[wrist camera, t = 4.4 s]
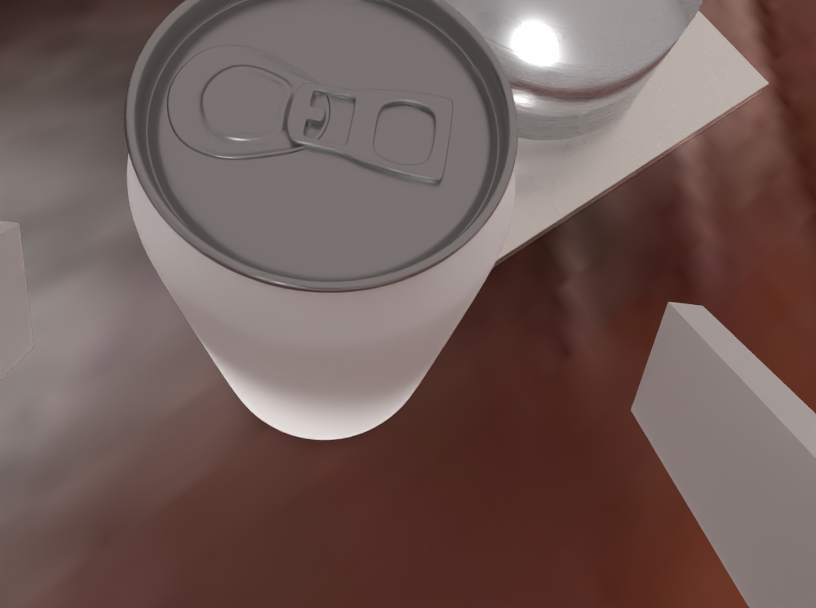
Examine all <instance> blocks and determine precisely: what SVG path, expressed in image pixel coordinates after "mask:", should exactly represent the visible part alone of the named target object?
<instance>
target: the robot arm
mask: <svg viewBox="0 0 816 608" xmlns="http://www.w3.org/2000/svg"><path fill="white" fill-rule="evenodd" d="M33 348H34V343H33V334H32V326H31V317H30V309H29V300H28V292H27V283H26V275H25V266H24V258H23V249H22V241H21V232H20V223H15V222H7V221H0V380H1V379H2V378H3V377H4V376H5V375H6V374H7V373H8V372H9V371H10V370H11V369H12V368H13V367H14V366H15V365H16V364H17V363H18V362H19V361H20V360H21V359H22V358H23V357H24V356H26V355H27V354H28V353H29V352H30V351H31V350H32V349H33ZM631 411H632V413H633V415H634V416H635V418H636V420H637V421H638V423H639V425H640V426H641V428H642V430H643V431H644V433H645V435H646V436H647V438H648V440H649V441H650V443H651V445H652V446H653V448H654V450H655V451H656V453H657V455H658V456H659V458H660V460H661V461H662V463H663V465H664V466H665V468H666V470H667V471H668V473H669V475H670V476H671V478H672V480H673V481H674V483H675V485H676V486H677V488H678V490H679V491H680V493H681V495H682V496H683V498H684V500H685V501H686V503H687V505H688V506H689V508H690V510H691V511H692V513H693V515H694V516H695V518H696V520H697V521H698V523H699V525H700V526H701V528H702V530H703V531H704V533H705V535H706V536H707V538H708V540H709V541H710V543H711V545H712V546H713V548H714V550H715V551H716V553H717V555H718V556H719V558H720V560H721V561H722V563H723V565H724V566H725V568H726V570H727V571H728V573H729V575H730V576H731V578H732V580H733V581H734V583H735V585H736V586H737V588H738V590H739V591H740V593H741V595H742V596H743V598H744V600H745V601H746V603H747V605H748V606H749V608H816V414H815V413H814V412H813V411H812V410H811V409H810V408H809V407H808V406H807V405H806V404H805V403H804V402H803V401H802V400H801V399H799V398H798V397H797V396H796V395H795V394H794V393H793V392H792V391H791V390H790V389H789V388H788V387H787V386H786V385H785V384H784V383H783V382H782V381H781V380H780V379H779V378H778V377H777V376H775V375H774V374H773V373H772V372H771V371H770V370H769V369H768V368H767V367H766V366H765V365H764V364H763V363H762V362H761V361H760V360H759V359H758V358H757V357H756V356H755V355H754V354H752V353H751V352H750V351H749V350H748V349H747V348H746V347H745V346H744V345H743V344H742V343H741V342H740V341H739V340H738V339H737V338H736V337H735V336H734V335H733V334H732V333H731V332H729V331H728V330H727V329H726V328H725V327H724V326H723V325H722V324H721V323H720V322H719V321H718V320H717V319H716V318H715V317H714V316H713V315H712V314H711V313H710V312H709V311H708V310H707V309H705V308H704V307H703V306H699V305H691V304H683V303H674V302H668V304H667V307H666V310H665V313H664V316H663V319H662V321H661V324H660V327H659V330H658V333H657V336H656V339H655V342H654V345H653V348H652V350H651V353H650V356H649V359H648V362H647V365H646V368H645V371H644V374H643V377H642V379H641V382H640V385H639V388H638V391H637V394H636V397H635V400H634V403H633V405H632V408H631Z"/></svg>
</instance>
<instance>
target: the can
mask: <svg viewBox="0 0 816 608" xmlns="http://www.w3.org/2000/svg"><path fill="white" fill-rule="evenodd" d="M124 120H125V135H126V142H127V147H128V152H129V154H128V164H127V189H128V197H129V203H130V208H131V213H132V216H133V220H134V223H135V226H136V229H137V231H138V234H139V237H140V240H141V242H142V244H143V247H144V249H145V251H146V253H147V255H148V257H149V259H150V260H151V262H152V264H153V266H154V268H155V269H156V271H157V273H158V275H159V277H160V278H161V280H162V281H163V283H164V285H165V286H166V288H167V289H168V291H169V293H170V294H171V296H172V297H173V299H174V301H175V302H176V304H177V305H178V307H179V308H180V310H181V312H182V313H183V315H184V316H185V318H186V319H187V321H188V322H189V324H190V326H191V327H192V329H193V330H194V332H195V333H196V335H197V336H198V338H199V339H200V341H201V342H202V344H203V346H204V347H205V349H206V350H207V352H208V353H209V355H210V356H211V358H212V359H213V361H214V362H215V364H216V365H217V367H218V368H219V370H220V371H221V373H222V374H223V376H224V377H225V379H226V380H227V382H228V383H229V385H230V386H231V387H232V389H233V390H234V392H235V393H236V394H237V396H238V397H239V398H240V400H241V401H242V402H243V403H244V404H245V405H246V407H247V408H248V409H249V410H250V411H252V412H253V413H254V414H255V415H256V416H257V417H259V418H260V419H261V420H263V421H264V422H266V423H267V424H269V425H270V426H272V427H274V428H276V429H278V430H280V431H282V432H285V433H288V434H290V435H294V436H297V437H301V438H307V439H315V440H333V439H341V438H346V437H351V436H354V435H358V434H360V433H363V432H366V431H368V430H370V429H372V428H374V427H376V426H378V425H379V424H381V423H383V422H384V421H386V420H387V419H388V418H390V417H391V416H392V415H393V414H395V413H396V412H397V411H398V410H399V409H400V408H401V407H402V406H403V405H404V404H405V403H406V401H407V400H408V399H409V398H410V396H411V395H412V394H413V392H414V391H415V389H416V388H417V387H418V385H419V384H420V382H421V381H422V379H423V378H424V376H425V375H426V373H427V372H428V370H429V369H430V367H431V366H432V364H433V362H434V361H435V359H436V358H437V356H438V355H439V353H440V352H441V350H442V349H443V347H444V345H445V344H446V342H447V341H448V339H449V338H450V336H451V335H452V333H453V331H454V330H455V328H456V327H457V325H458V324H459V322H460V320H461V319H462V317H463V316H464V314H465V313H466V311H467V309H468V308H469V306H470V305H471V303H472V301H473V300H474V298H475V297H476V295H477V293H478V292H479V290H480V288H481V287H482V285H483V284H484V282H485V280H486V278H487V277H488V275H489V273H490V271H491V269H492V267H493V266H494V264H495V262H496V260H497V258H498V256H499V254H500V251H501V249H502V246H503V244H504V241H505V238H506V235H507V232H508V229H509V226H510V222H511V218H512V213H513V207H514V197H515V175H514V164H515V159H516V154H517V145H518V121H517V112H516V106H515V101H514V97H513V94H512V90H511V87H510V84H509V82H508V79H507V76H506V74H505V72H504V70H503V68H502V66H501V64H500V62H499V60H498V58H497V56H496V55H495V53H494V52H493V50H492V48H491V47H490V46H489V44H488V43H487V41H486V40H485V39H484V38H483V36H482V35H481V34H480V33H479V32H478V30H477V29H476V28H475V27H474V26H473V25H472V24H471V23H470V22H469V21H468V20H467V19H466V18H465V17H464V16H463V15H462V14H461V13H460V12H458V11H457V10H456V9H455V8H454V7H452V6H451V5H450V4H448V3H447V2H446V1H444V0H185V1H184V2H183V3H181V4H180V5H179V6H178V7H177V8H175V9H174V10H173V11H172V12H171V13H170V14H169V15H168V16H167V17H166V18H165V19H164V20H163V21H162V23H161V24H160V25H159V26H158V27H157V29H156V30H155V31H154V32H153V34H152V35H151V37H150V38H149V40H148V41H147V43H146V44H145V46H144V48H143V49H142V51H141V53H140V55H139V57H138V59H137V62H136V64H135V66H134V69H133V72H132V75H131V78H130V81H129V85H128V90H127V95H126V102H125V119H124Z"/></svg>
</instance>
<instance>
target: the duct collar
mask: <svg viewBox="0 0 816 608" xmlns="http://www.w3.org/2000/svg"><path fill="white" fill-rule="evenodd" d="M444 1H446V2H447V3H448V4H450V5H451V6H452V7H454V8H455V9H456V10H457V11H458V12H460V13H461V14H462V15H463V16H464V17H465V18H466V19H467V20H468V21H469V22H470V23H471V24H472V25H473V26H474V27H475V28H476V29H477V30H478V32H479V33H480V34H481V35H482V36H483V38H484V39H485V40H486V41H487V43H488V44H489V46H490V47H491V48H492V50H493V52H494V53H495V55H496V56H497V58H498V60H499V62H500V64H501V66H502V68H503V70H504V72H505V74H506V76H507V79H508V82H509V84H510V87H511V90H512V94H513V97H514V101H515V106H516V112H517V121H518V145H517V154H516V159H515V164H514V175H515V197H514V207H513V213H512V218H511V222H510V226H509V229H508V232H507V235H506V238H505V241H504V244H503V246H502V249H501V251H500V254H499V256H498V258H497V260H496V262H495V264H494V266H493V267H492V268H494V267H495V266H497V265H499V264H500V263H502V262H503V261H505V260H506V259H508V258H509V257H511V256H512V255H514V254H515V253H517V252H518V251H520V250H521V249H523V248H525V247H526V246H528V245H529V244H531V243H532V242H534V241H535V240H537V239H538V238H540V237H541V236H543V235H544V234H546V233H548V232H549V231H551V230H552V229H554V228H555V227H557V226H558V225H560V224H561V223H563V222H564V221H566V220H567V219H569V218H570V217H572V216H574V215H575V214H577V213H578V212H580V211H581V210H583V209H584V208H586V207H587V206H589V205H590V204H592V203H593V202H595V201H597V200H598V199H600V198H601V197H603V196H604V195H606V194H607V193H609V192H610V191H612V190H613V189H615V188H616V187H618V186H619V185H621V184H623V183H624V182H626V181H627V180H629V179H630V178H632V177H633V176H635V175H636V174H638V173H639V172H641V171H642V170H644V169H645V168H647V167H649V166H650V165H652V164H653V163H655V162H656V161H658V160H659V159H661V158H662V157H664V156H665V155H667V154H668V153H670V152H672V151H673V150H675V149H676V148H678V147H679V146H681V145H682V144H684V143H685V142H687V141H688V140H690V139H691V138H693V137H694V136H696V135H698V134H699V133H701V132H702V131H704V130H705V129H707V128H708V127H710V126H711V125H713V124H714V123H716V122H717V121H719V120H721V119H722V118H724V117H725V116H727V115H728V114H730V113H731V112H733V111H734V110H736V109H737V108H739V107H740V106H742V105H743V104H745V103H747V102H748V101H750V100H751V99H753V98H754V97H756V96H757V95H758V94H759V93H760V92H761V91H762V90H763V89H764V88H765V87H766V86H767V85H768V84H769V83H768V82H767V81H766V80H765V79H764V78H763V77H762V76H761V75H760V74H759V73H758V72H757V71H756V69H755V68H754V67H753V66H752V65H751V64H750V63H749V62H748V61H747V60H746V59H745V58H744V57H743V56H742V55H741V54H740V53H739V52H738V51H737V50H736V49H735V48H734V47H733V46H732V45H731V44H730V43H729V42H728V41H727V39H726V38H725V37H724V36H723V35H722V34H721V33H720V32H719V31H718V30H717V29H716V28H715V27H714V26H713V25H712V24H711V23H710V22H709V21H708V20H707V19H706V18H705V17H704V16H703V15H702V14H701V13H700V12H699V7H700V5H701V3H702V1H703V0H444Z"/></svg>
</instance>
